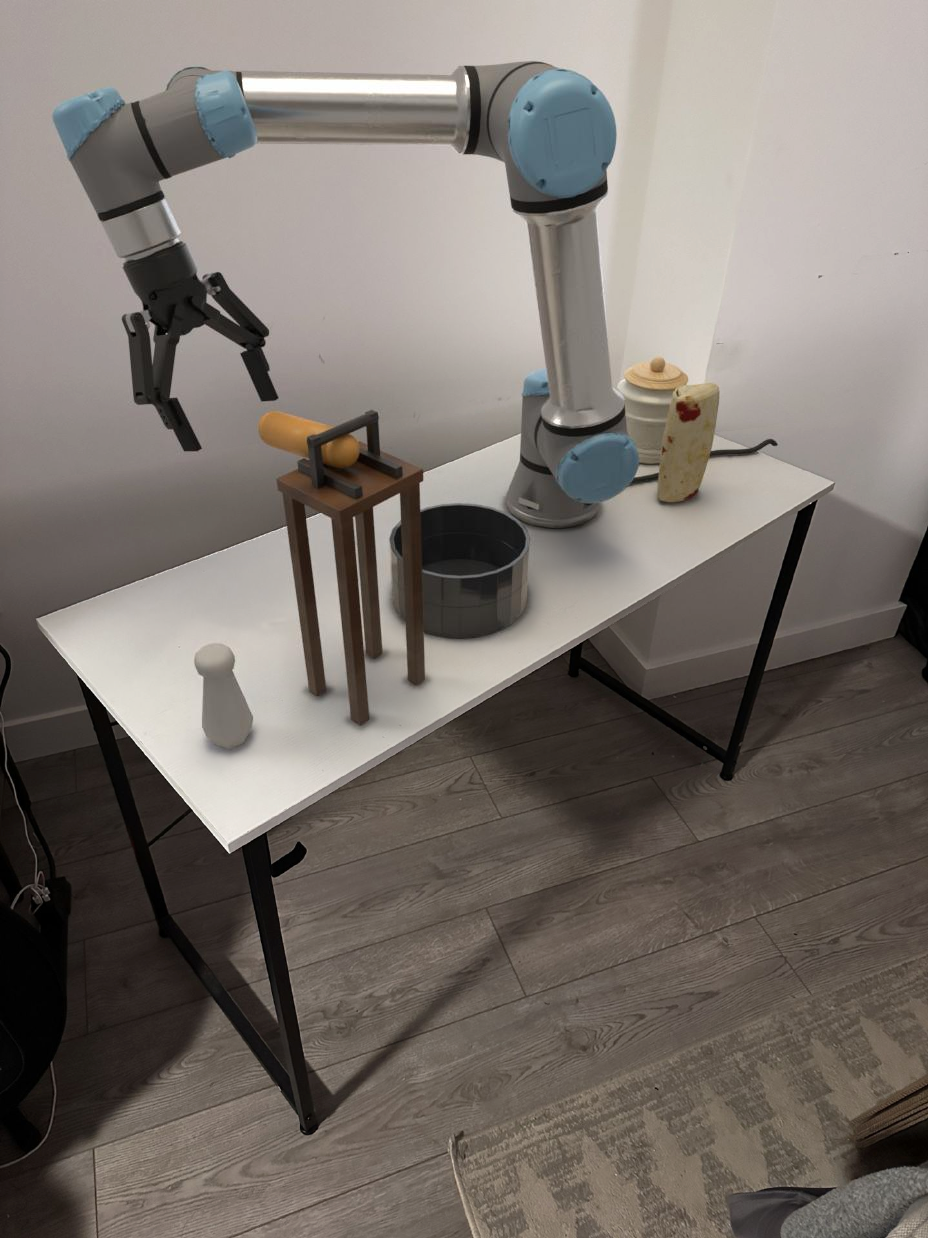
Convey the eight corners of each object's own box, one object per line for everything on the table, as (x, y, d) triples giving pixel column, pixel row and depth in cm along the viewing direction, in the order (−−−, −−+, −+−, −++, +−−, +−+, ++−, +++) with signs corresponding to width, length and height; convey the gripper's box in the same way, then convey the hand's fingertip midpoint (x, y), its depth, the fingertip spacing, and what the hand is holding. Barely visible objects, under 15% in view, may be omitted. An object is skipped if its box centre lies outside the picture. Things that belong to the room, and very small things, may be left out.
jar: (609, 432, 171) (620, 342, 160) (677, 435, 170) (692, 345, 159) (611, 463, 161) (622, 369, 150) (683, 467, 159) (700, 373, 149)
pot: (512, 555, 136) (515, 498, 130) (539, 632, 121) (543, 571, 115) (387, 565, 134) (384, 507, 128) (399, 644, 119) (396, 583, 113)
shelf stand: (305, 691, 111) (269, 429, 90) (374, 646, 118) (356, 394, 97) (359, 728, 106) (335, 460, 84) (428, 679, 113) (422, 420, 92)
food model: (671, 512, 147) (690, 398, 134) (643, 496, 151) (659, 384, 139) (712, 496, 151) (734, 384, 139) (684, 480, 155) (703, 371, 143)
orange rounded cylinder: (254, 448, 101) (247, 414, 98) (282, 436, 103) (275, 403, 101) (342, 477, 92) (336, 441, 90) (370, 464, 94) (364, 428, 92)
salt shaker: (237, 760, 102) (219, 674, 94) (195, 746, 103) (174, 661, 95) (264, 726, 106) (249, 642, 98) (224, 714, 108) (205, 630, 100)
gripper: (211, 219, 108) (280, 382, 120) (42, 294, 94) (139, 472, 105) (250, 209, 104) (318, 379, 115) (79, 286, 89) (176, 473, 100)
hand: (233, 424), depth 110 cm, fingers open, 13 cm apart
